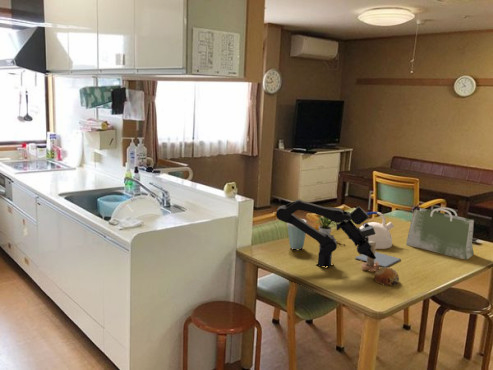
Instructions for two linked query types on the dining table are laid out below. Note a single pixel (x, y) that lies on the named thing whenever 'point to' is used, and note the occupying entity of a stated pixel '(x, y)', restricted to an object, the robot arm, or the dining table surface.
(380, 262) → the mat
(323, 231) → the house plant
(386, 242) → the kettle
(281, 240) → the dining table surface
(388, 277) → the bread roll
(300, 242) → the disposable coffee cup
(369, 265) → the cylinder on pink base
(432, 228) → the grocery bag
